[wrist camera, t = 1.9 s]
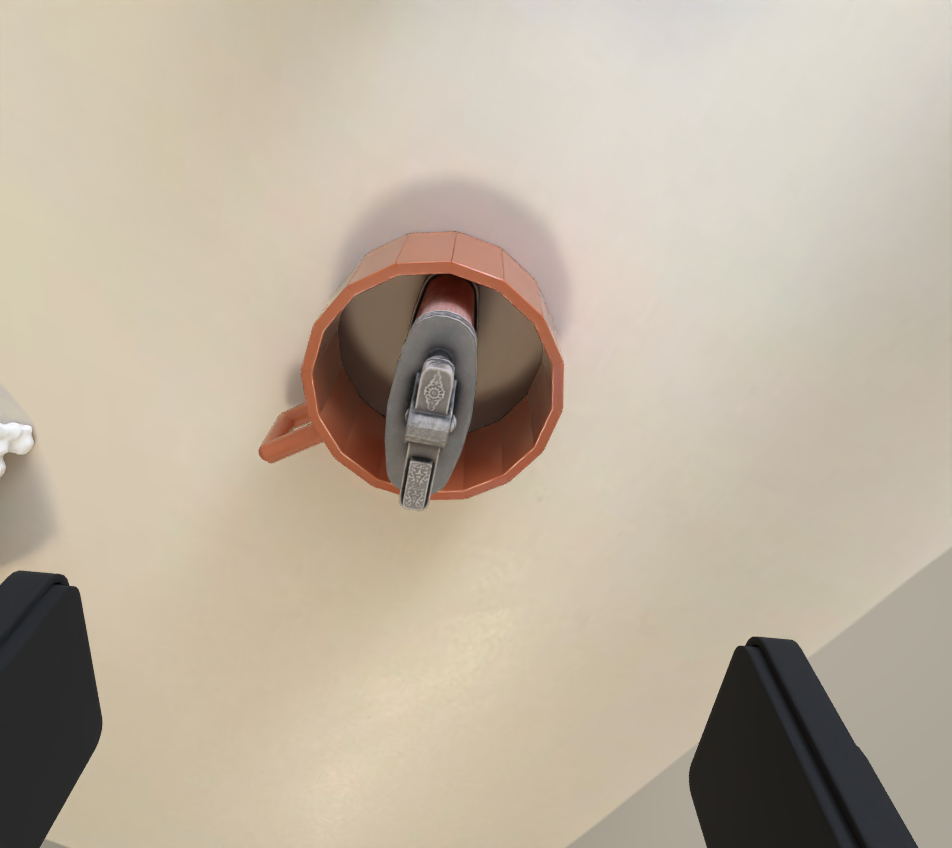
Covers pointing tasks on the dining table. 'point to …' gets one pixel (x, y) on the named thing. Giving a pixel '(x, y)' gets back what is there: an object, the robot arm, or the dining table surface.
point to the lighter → (433, 389)
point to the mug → (363, 429)
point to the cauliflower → (14, 441)
